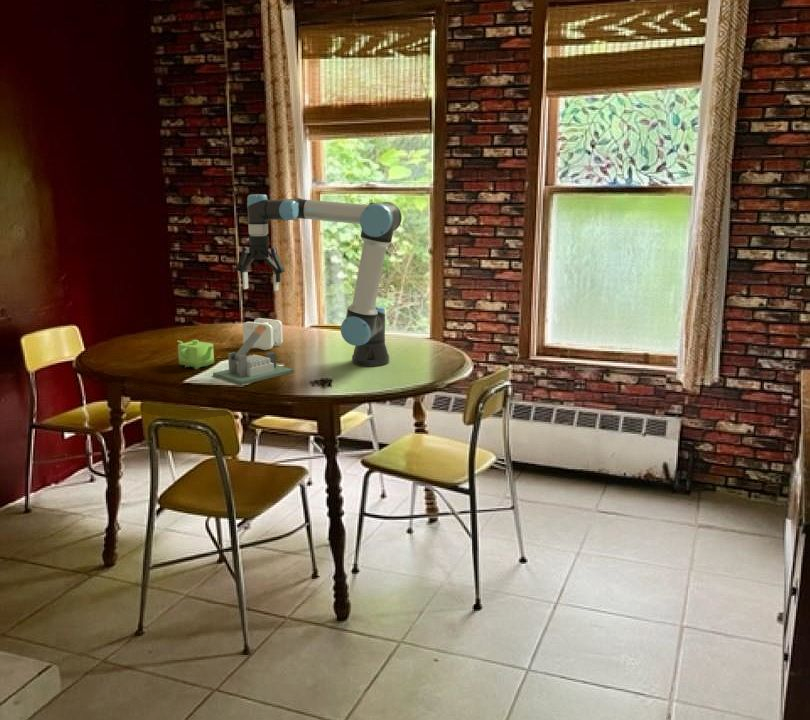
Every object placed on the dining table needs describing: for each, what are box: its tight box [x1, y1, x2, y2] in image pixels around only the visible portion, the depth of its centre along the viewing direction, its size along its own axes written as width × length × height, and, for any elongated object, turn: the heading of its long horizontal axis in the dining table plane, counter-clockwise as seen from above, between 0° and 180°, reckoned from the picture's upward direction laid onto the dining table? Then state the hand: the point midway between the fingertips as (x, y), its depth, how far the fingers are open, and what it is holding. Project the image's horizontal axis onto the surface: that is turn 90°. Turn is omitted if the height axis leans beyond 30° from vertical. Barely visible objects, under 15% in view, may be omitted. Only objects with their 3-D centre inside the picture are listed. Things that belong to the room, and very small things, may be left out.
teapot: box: [176, 339, 215, 370], centre depth 309 cm, size 15×13×11 cm
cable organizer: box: [242, 317, 284, 351], centre depth 342 cm, size 15×11×12 cm
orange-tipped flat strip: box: [232, 325, 266, 361], centre depth 295 cm, size 5×17×2 cm
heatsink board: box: [212, 351, 294, 386], centre depth 298 cm, size 18×24×9 cm
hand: (261, 289), depth 309 cm, fingers open, 13 cm apart
